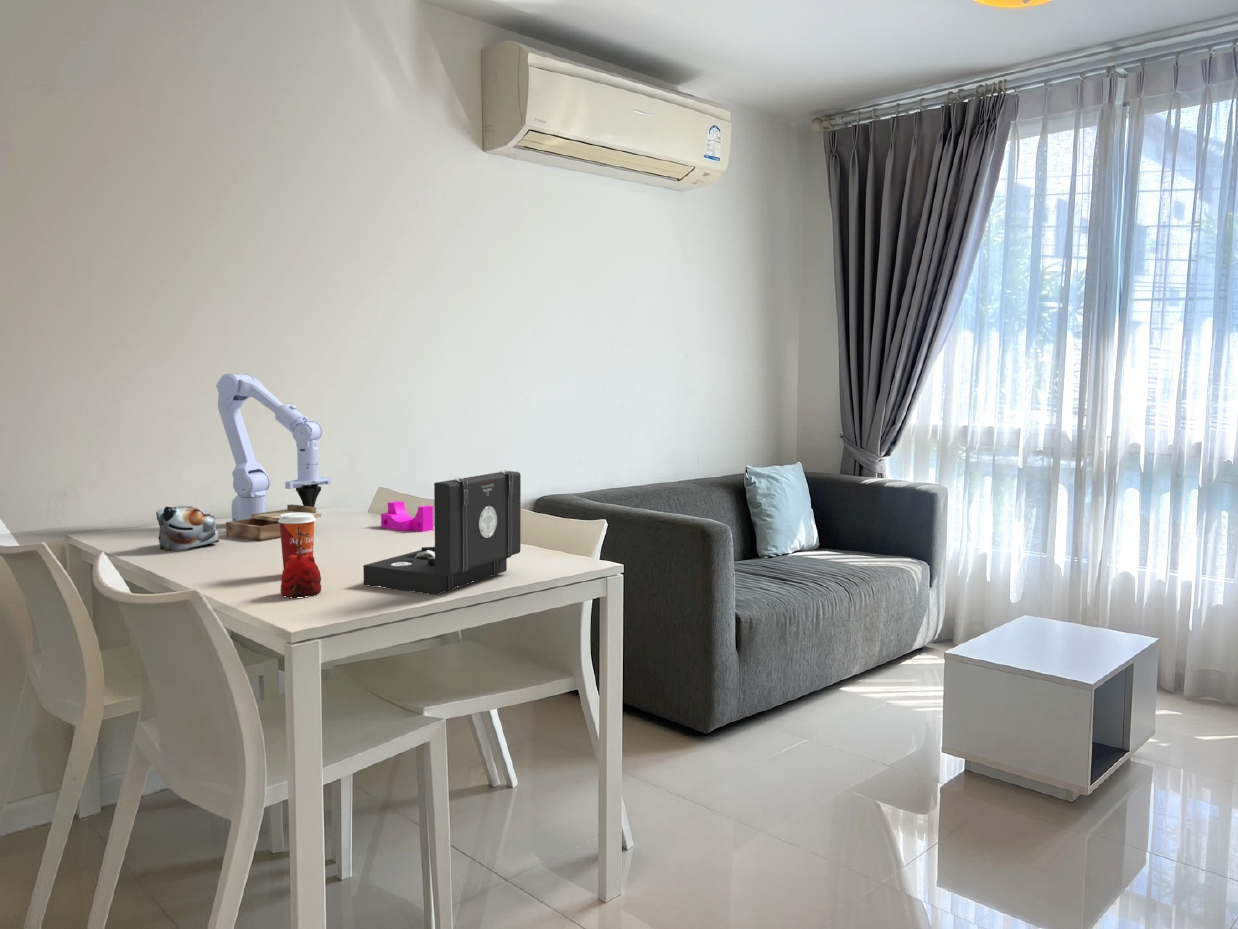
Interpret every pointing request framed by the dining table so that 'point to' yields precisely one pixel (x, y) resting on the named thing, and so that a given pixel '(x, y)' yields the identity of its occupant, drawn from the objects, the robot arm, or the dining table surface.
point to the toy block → (407, 518)
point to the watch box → (460, 537)
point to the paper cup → (290, 537)
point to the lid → (290, 509)
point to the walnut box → (253, 529)
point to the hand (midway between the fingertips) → (308, 511)
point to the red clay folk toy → (300, 574)
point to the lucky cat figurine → (185, 528)
